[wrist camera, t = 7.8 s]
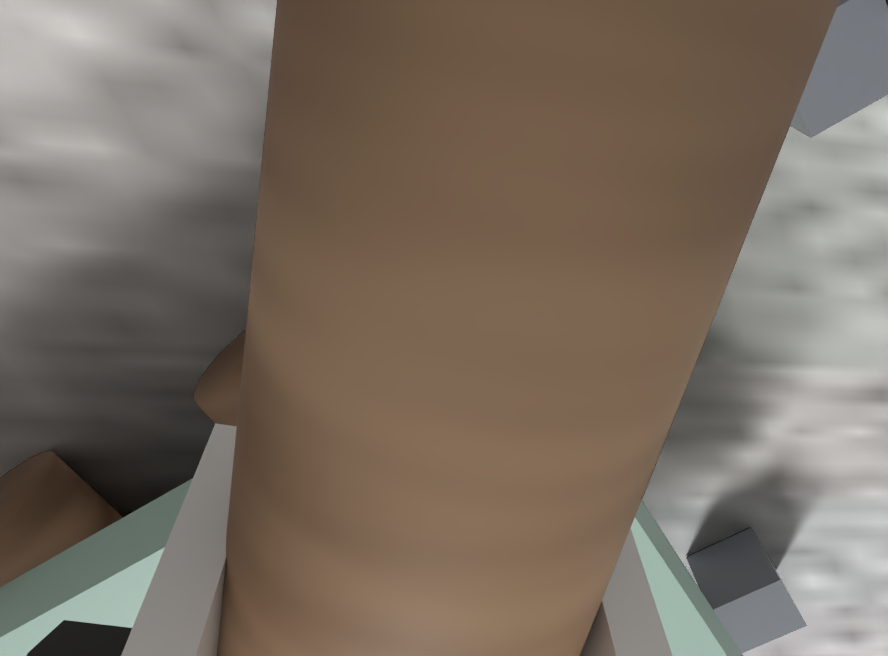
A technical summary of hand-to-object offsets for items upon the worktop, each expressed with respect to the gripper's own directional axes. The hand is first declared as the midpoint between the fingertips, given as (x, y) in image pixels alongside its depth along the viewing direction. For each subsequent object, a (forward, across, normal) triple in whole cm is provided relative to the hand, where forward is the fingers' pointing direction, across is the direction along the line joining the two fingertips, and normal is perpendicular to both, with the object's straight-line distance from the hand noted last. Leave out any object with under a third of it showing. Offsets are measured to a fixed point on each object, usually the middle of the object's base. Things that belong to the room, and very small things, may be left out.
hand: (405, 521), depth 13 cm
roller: (0, -1, 0) cm, 1 cm away
